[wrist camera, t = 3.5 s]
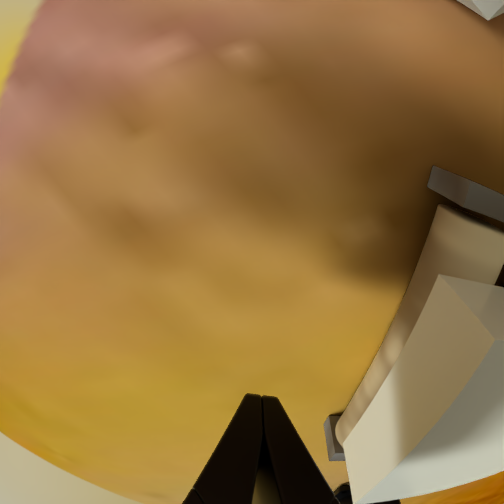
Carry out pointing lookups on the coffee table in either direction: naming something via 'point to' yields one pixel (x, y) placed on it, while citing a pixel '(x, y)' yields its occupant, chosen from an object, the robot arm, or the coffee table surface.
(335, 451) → the roller bed
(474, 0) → the die
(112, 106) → the coffee table surface
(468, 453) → the slab
